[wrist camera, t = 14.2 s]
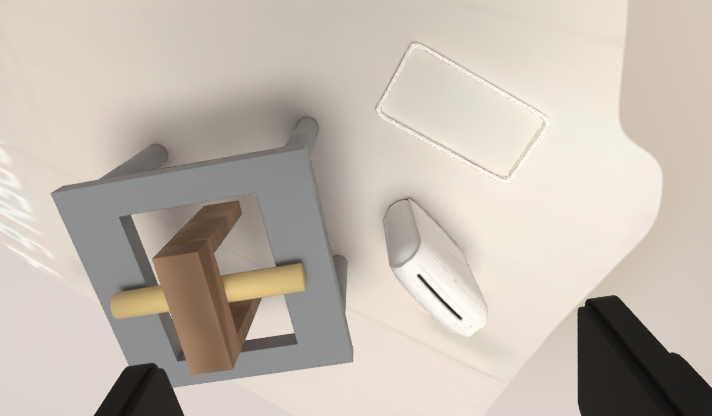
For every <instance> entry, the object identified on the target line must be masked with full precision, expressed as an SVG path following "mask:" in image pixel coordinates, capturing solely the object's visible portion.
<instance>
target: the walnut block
mask: <svg viewBox="0 0 712 416" xmlns="http://www.w3.org/2000/svg"><path fill="white" fill-rule="evenodd" d="M241 215H242V212H241V208H240V204H239V201H233V202H226V203H220V204H214V205H207V206H204V207H203V208H202V209H201V210H200V211H199V212H198V213H197V214H196V215H195V216H194V217H193V218H192V219H191V220H190V221H189V222H188V223H187V224H186V225H185V226H184V227H183V228H182V229H181V230H180V231H179V232H178V233H177V234H176V235H175V236H174V237H173V238H172V239H171V240H170V241H169V242H168V243H167V244H166V245H165V246H164V247H163V248H162V249H161V250H160V251H159V252H158V253H157V254H156V256H155V257H154V258H153V259H152V260H153V263H154V266H155V269H156V272H157V275H158V278H159V281H160V284H161V287H162V290H163V293H164V296H165V299H166V302H167V305H168V308H169V311H170V313H171V316H172V319H173V322H174V325H175V328H176V331H177V334H178V337H179V340H180V343H181V346H182V349H183V352H184V355H185V358H186V361H187V364H188V367H189V370H190V373H191V375H197V374H204V373H212V372H219V371H227V370H233V369H234V366H235V364H236V361H237V359H238V356H239V354H240V351H241V349H242V346H243V344H244V341H245V339H246V336H247V334H248V331H249V329H250V326H251V324H252V321H253V319H254V316H255V314H256V311H257V309H258V306H259V304H260V301H261V299H262V297H261V298H255V299H248V300H242V301H235V302H229V303H228V300H227V297H226V293H225V290H224V286H223V283H222V279H221V276H220V273H219V269H218V266H217V262H216V259H215V255H214V253H215V251H216V250H217V248H218V247H219V246H220V244H221V243H222V241H223V240H224V239H225V237H226V236H227V234H228V233H229V232H230V230H231V229H232V227H233V226H234V225H235V223H236V222H237V220H238V219H239V217H240V216H241Z"/></svg>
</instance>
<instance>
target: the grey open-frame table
mask: <svg viewBox="0 0 712 416" xmlns="http://www.w3.org/2000/svg"><path fill="white" fill-rule="evenodd" d="M317 132H318V124H317V122H316V121H315V120H314V119H313V118H311V117H304V118H302V119H301V120H300V121H299V122H298V124H297V126H296V128H295V130H294V132H293V133H292V135H291V137H290V139H289V141H288V143H287V144H286V146H285V147H282V148H276V149H270V150H265V151H259V152H253V153H248V154H242V155H236V156H231V157H225V158H219V159H214V160H208V161H202V162H197V163H191V164H185V165H180V166H174V167H168V168H163V169H157V168H158V167H159V166H161V165H162V164H163V163H165V162H166V161H167V159H168V153H167V151H166V149H165V148H164V147H163V146H161V145H158V144H154V145H151V146H150V147H148V148H147V149H145V150H143V151H142V152H140V153H139V154H137V155H136V156H134V157H133V158H131V159H130V160H128V161H126V162H125V163H123V164H122V165H120V166H119V167H117V168H116V169H114V170H112V171H111V172H109V173H108V174H106V175H105V176H103V177H102V178H100V179H99V180H95V181H89V182H83V183H78V184H72V185H66V186H62V187H61V188H59V189H57V190H56V191H54V192H52V193H51V195H52V198H53V200H54V202H55V204H56V206H57V209H58V211H59V213H60V215H61V217H62V220H63V222H64V224H65V226H66V228H67V230H68V233H69V235H70V237H71V239H72V241H73V244H74V246H75V248H76V250H77V252H78V255H79V257H80V259H81V261H82V263H83V266H84V268H85V270H86V272H87V274H88V277H89V279H90V281H91V283H92V285H93V288H94V290H95V292H96V294H97V296H98V299H99V301H100V303H101V305H102V307H103V310H104V312H105V314H106V316H107V318H108V321H109V323H110V325H111V327H112V329H113V331H114V334H115V336H116V338H117V340H118V343H119V344H120V347H121V349H122V351H123V354H124V356H125V358H126V360H127V362H128V365H129V366H132V365H139V364H146V363H155V364H156V365H157V366H158V368H163V369H164V370H165V372H166V374H167V376H168V378H169V381H170V383H171V386H172V388H173V387H180V386H187V385H194V384H202V383H208V382H215V381H223V380H230V379H237V378H244V377H251V376H258V375H265V374H272V373H279V372H286V371H293V370H300V369H307V368H314V367H322V366H329V365H336V364H343V363H350V362H353V346H352V342H351V338H350V333H349V329H348V324H347V320H346V315H345V309H346V285H347V260H346V259H345V258H344V257H342V256H334V257H332V253H331V249H330V244H329V240H328V236H327V231H326V227H325V222H324V218H323V213H322V209H321V204H320V200H319V196H318V191H317V187H316V182H315V178H314V173H313V169H312V165H311V160H310V153H311V150H312V147H313V144H314V141H315V138H316V135H317ZM156 169H157V170H156ZM255 193H256V196H257V199H258V203H259V207H260V210H261V214H262V217H263V221H264V225H265V228H266V232H267V235H268V239H269V243H270V246H271V250H272V253H273V257H274V260H275V264H276V267H273V268H267V269H260V270H254V271H248V272H242V273H235V274H229V275H223V276H221V279H222V283H223V286H224V290H225V293H226V297H227V300H228V303H229V302H235V301H242V300H248V299H255V298H261V297H268V296H274V295H281V294H284V296H285V300H286V304H287V307H288V311H289V314H290V318H291V321H292V325H293V329H294V332H295V333H293V334H286V335H279V336H272V337H266V338H259V339H252V340H245V341H244V344H243V346H242V349H241V351H240V354H239V356H238V359H237V361H236V364H235V366H234V369H233V370H227V371H219V372H212V373H204V374H197V375H191V373H190V370H189V367H188V364H187V361H186V358H185V355H184V352H183V349H182V346H181V343H180V340H179V337H178V334H177V331H176V328H175V325H174V322H173V319H171V316H170V314H169V312H170V311H169V308H168V305H167V302H166V299H165V296H164V293H163V290H162V287H161V285H159V286H158V283H157V281H156V278H155V276H154V273H153V271H152V268H151V265H150V263H149V260H148V258H147V255H146V253H145V250H144V248H143V245H142V243H141V240H140V237H139V235H138V232H137V230H136V227H135V225H134V222H133V220H132V217H131V215H132V214H137V213H143V212H149V211H155V210H161V209H167V208H173V207H179V206H184V205H190V204H196V203H202V202H208V201H214V200H220V199H226V198H231V197H237V196H243V195H249V194H255Z"/></svg>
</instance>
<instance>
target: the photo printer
mask: <svg viewBox="0 0 712 416" xmlns="http://www.w3.org/2000/svg"><path fill="white" fill-rule="evenodd" d="M383 223H384V230H385V237H386V244H387V251H388V258H389V265H390V267H391V269H392V271H393V273H394V275H395V276H396V278H397V279H398V281H399V282H400V283H401V284H402V286H403V287H404V288H405V289H406V290H407V291H408V293H409V294H410V295H411V296H412V297H413V298H414V299H415V300H416V301H417V302H418V303H419V304H420V305H421V306H422V307H423V308H424V309H425V310H426V311H427V312H428V313H429V314H430V315H431V316H432V317H433V318H434V319H435V320H437V321H438V322H439V323H440V324H442V325H443V326H445V327H446V328H447V329H449V330H450V331H452V332H454V333H456V334H458V335H461V336H471V335H472V334H473V333H474V332H475V331H477V330H479V329H481V328H482V327H483V326H484V324H485V322H486V320H487V317H488V308H487V305H486V303H485V300H484V298H483V296H482V294H481V291H480V289H479V287H478V285H477V282H476V280H475V278H474V276H473V274H472V271H471V269H470V267H469V265H468V263H467V261H466V259H465V257H464V255H463V253H462V252H461V251H460V249H459V248H458V247H457V246H456V244H455V243H454V242H453V241H452V240H451V239H450V238H449V236H448V235H447V234H446V233H445V232H444V231H443V230H442V229H441V228H440V227H439V226H438V225H437V223H436V222H435V221H434V220H433V219H432V218H431V217H430V216H429V215H428V214H427V213H426V212H425V211H424V210H423V209H422V208H421V207H420V206H418V205H417V204H416V203H415V202H414V201H412V200H411V199H408V200H401V201H398V202H396V203H394V204H393V205H392V206H391V207H390V208H389V209H388V211H387V214H386V218H384V220H383Z"/></svg>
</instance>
